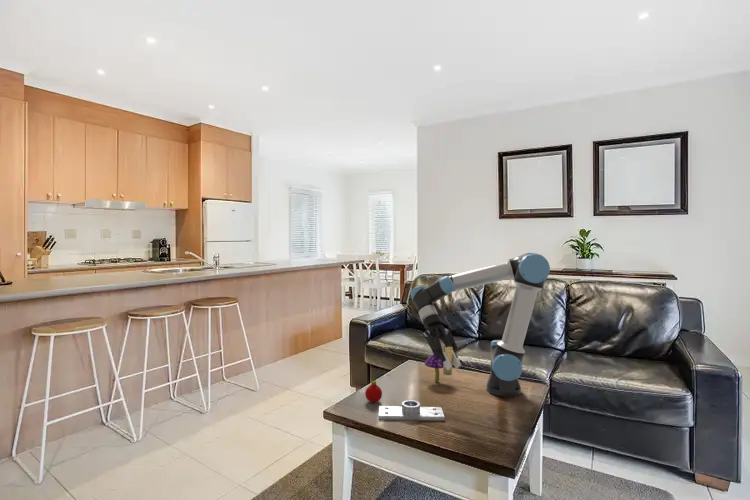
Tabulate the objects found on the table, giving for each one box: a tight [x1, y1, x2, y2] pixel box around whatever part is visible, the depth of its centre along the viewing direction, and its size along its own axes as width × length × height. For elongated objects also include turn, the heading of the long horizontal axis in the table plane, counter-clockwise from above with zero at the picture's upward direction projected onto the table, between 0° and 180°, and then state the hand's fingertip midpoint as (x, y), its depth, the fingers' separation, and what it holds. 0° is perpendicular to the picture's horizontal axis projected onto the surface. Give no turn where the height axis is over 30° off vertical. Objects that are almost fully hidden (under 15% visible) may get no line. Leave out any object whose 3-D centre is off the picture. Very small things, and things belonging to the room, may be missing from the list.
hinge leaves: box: [378, 399, 445, 422], centre depth 159 cm, size 25×9×4 cm, turn 88°
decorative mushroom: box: [423, 353, 443, 383], centre depth 197 cm, size 12×12×15 cm
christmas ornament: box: [364, 378, 383, 403], centre depth 171 cm, size 7×7×10 cm
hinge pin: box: [442, 345, 453, 376], centre depth 163 cm, size 4×4×11 cm
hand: (453, 367), depth 160 cm, fingers closed on hinge pin, 3 cm apart
